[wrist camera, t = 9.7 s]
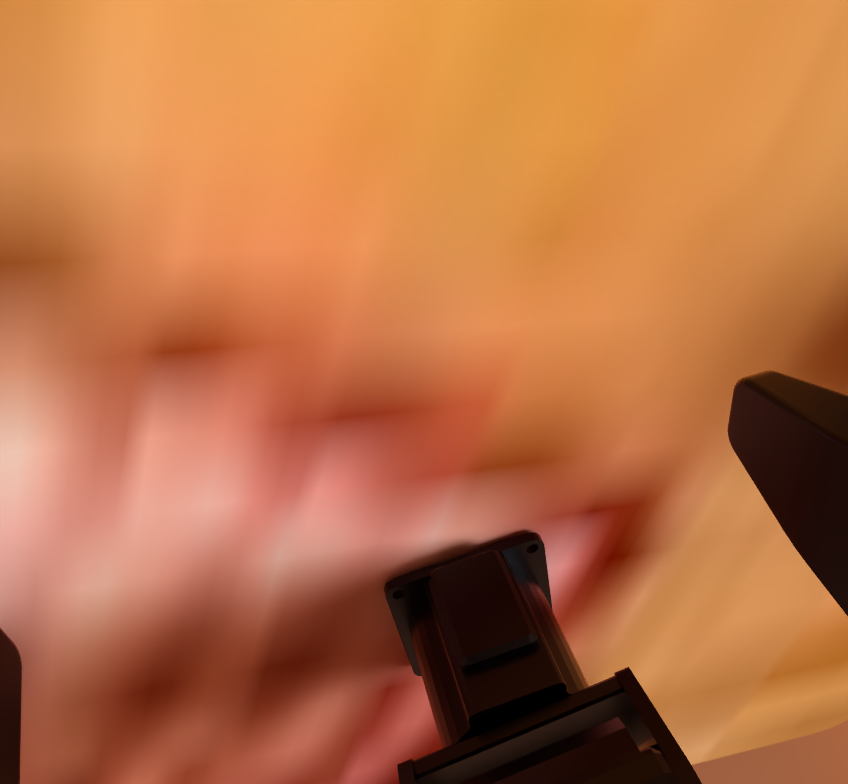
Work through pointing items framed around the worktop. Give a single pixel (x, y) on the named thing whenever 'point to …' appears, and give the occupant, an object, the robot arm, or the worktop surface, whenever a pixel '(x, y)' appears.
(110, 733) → the worktop surface
